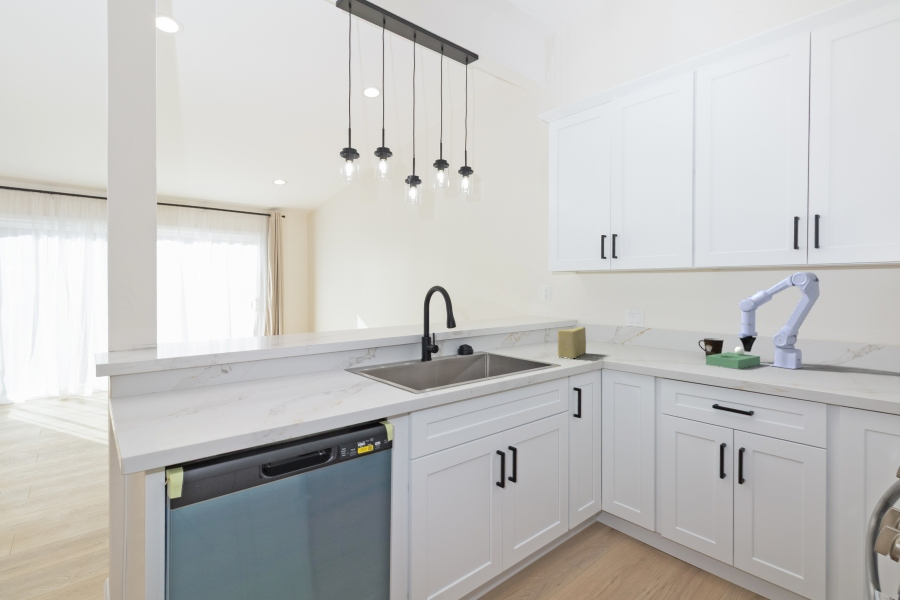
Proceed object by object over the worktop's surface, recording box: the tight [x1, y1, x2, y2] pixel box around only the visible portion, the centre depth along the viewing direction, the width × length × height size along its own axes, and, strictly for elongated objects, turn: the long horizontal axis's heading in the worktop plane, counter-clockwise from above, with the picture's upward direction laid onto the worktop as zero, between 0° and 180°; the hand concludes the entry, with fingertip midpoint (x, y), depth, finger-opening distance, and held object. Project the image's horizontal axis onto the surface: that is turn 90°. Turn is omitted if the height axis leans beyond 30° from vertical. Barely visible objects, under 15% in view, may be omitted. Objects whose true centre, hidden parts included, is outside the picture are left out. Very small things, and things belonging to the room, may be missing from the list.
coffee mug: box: [697, 337, 724, 357], centre depth 218 cm, size 12×9×10 cm
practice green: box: [705, 351, 761, 370], centre depth 200 cm, size 20×14×4 cm
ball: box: [734, 346, 745, 355], centre depth 203 cm, size 4×4×4 cm
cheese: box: [557, 326, 587, 359], centre depth 227 cm, size 22×10×15 cm, turn 137°
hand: (747, 351), depth 207 cm, fingers closed
